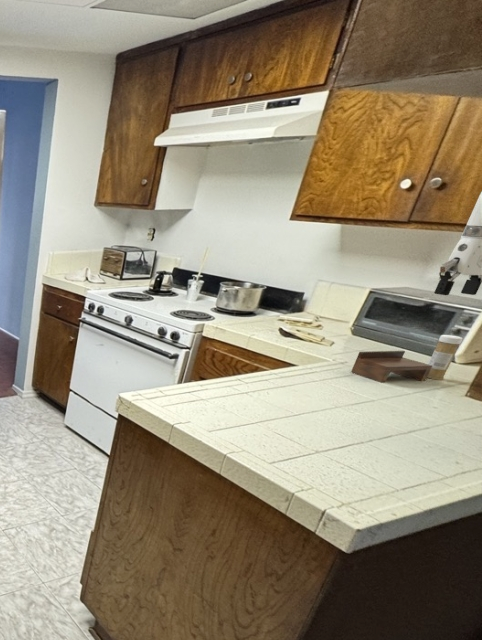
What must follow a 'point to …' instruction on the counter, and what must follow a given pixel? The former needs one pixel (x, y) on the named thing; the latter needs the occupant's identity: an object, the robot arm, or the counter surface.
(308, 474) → the counter surface
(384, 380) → the shelf
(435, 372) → the sprinkles bottle
